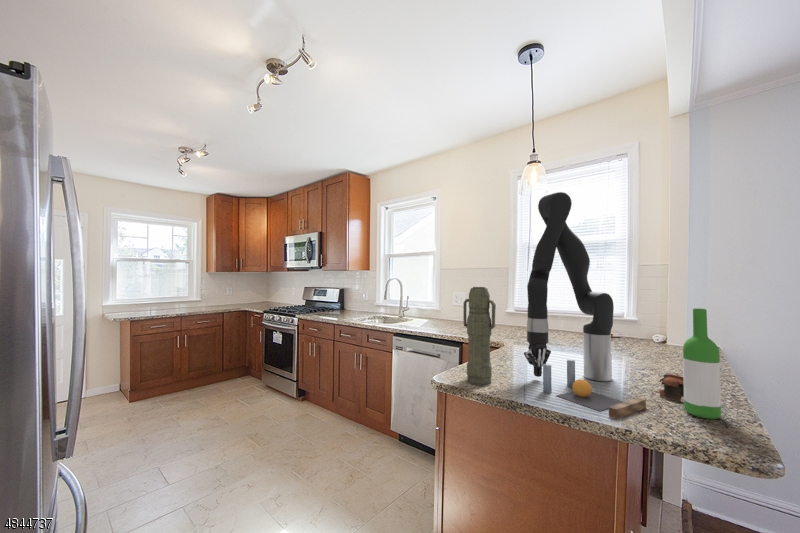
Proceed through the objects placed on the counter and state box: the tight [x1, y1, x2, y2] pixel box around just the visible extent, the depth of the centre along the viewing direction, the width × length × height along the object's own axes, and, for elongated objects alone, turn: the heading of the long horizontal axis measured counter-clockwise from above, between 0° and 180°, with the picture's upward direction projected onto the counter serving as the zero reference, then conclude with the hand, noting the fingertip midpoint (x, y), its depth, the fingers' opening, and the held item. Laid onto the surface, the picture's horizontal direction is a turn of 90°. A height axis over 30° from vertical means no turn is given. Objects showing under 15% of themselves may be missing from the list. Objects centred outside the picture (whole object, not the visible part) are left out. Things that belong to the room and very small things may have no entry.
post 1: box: [542, 363, 552, 394], centre depth 111 cm, size 3×3×9 cm
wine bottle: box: [682, 308, 722, 420], centre depth 93 cm, size 8×8×30 cm
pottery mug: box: [659, 373, 684, 403], centre depth 105 cm, size 12×10×8 cm
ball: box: [571, 378, 593, 397], centre depth 106 cm, size 6×6×6 cm
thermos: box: [463, 286, 497, 387], centre depth 121 cm, size 9×12×35 cm
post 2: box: [566, 359, 576, 388], centre depth 117 cm, size 3×3×9 cm
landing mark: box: [556, 390, 624, 412], centre depth 104 cm, size 14×14×1 cm
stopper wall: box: [608, 397, 647, 420], centre depth 94 cm, size 16×2×2 cm, turn 119°
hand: (537, 376), depth 123 cm, fingers closed
